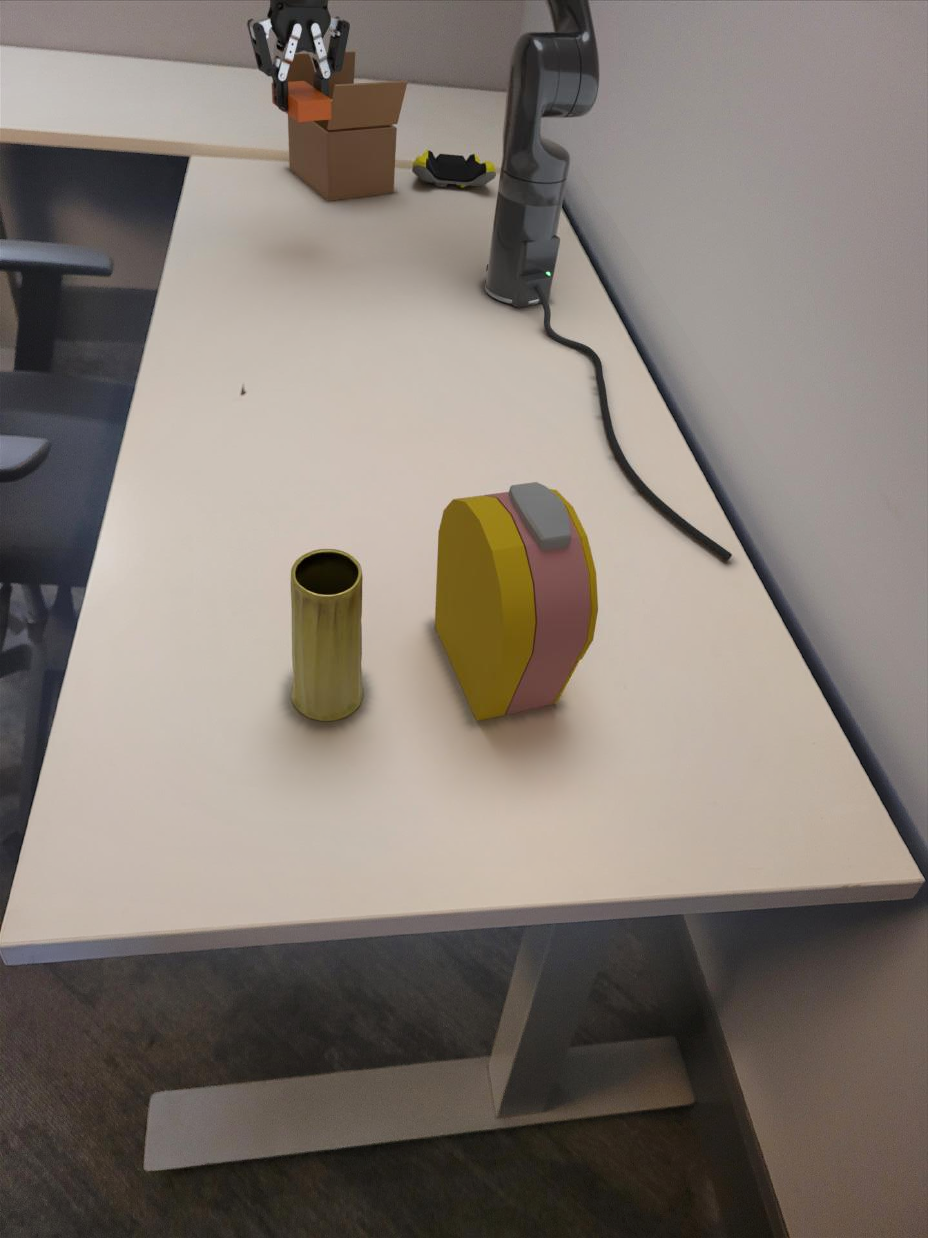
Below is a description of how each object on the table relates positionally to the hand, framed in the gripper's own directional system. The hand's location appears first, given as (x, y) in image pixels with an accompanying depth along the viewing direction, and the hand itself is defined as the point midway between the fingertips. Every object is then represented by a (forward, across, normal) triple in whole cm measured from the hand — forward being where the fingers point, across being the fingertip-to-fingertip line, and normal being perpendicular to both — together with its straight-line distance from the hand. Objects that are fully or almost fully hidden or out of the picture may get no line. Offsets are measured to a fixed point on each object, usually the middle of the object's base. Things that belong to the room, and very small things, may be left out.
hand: (301, 107), depth 117 cm
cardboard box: (+20, -19, -23) cm, 35 cm away
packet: (0, 0, 0) cm, 0 cm away
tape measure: (+19, +23, +83) cm, 89 cm away
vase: (+19, +38, +79) cm, 90 cm away
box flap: (+5, -19, -14) cm, 24 cm away
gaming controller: (+20, -38, -15) cm, 45 cm away
